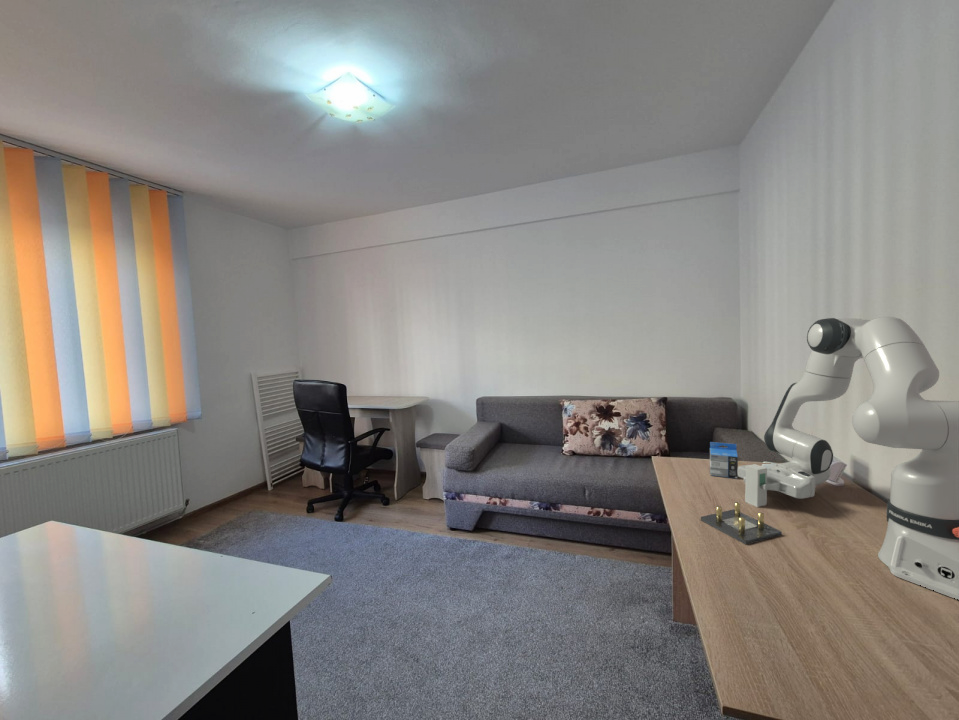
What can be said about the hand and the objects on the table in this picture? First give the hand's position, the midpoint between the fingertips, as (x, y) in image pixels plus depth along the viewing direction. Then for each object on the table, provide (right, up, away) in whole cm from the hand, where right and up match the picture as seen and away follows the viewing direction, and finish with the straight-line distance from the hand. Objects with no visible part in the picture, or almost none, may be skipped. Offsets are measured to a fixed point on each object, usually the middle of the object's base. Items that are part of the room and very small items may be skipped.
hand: (753, 483), depth 122 cm
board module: (+1, -7, +1) cm, 7 cm away
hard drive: (+27, -4, +27) cm, 39 cm away
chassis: (-13, -8, -13) cm, 20 cm away
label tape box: (+6, -5, +24) cm, 25 cm away
